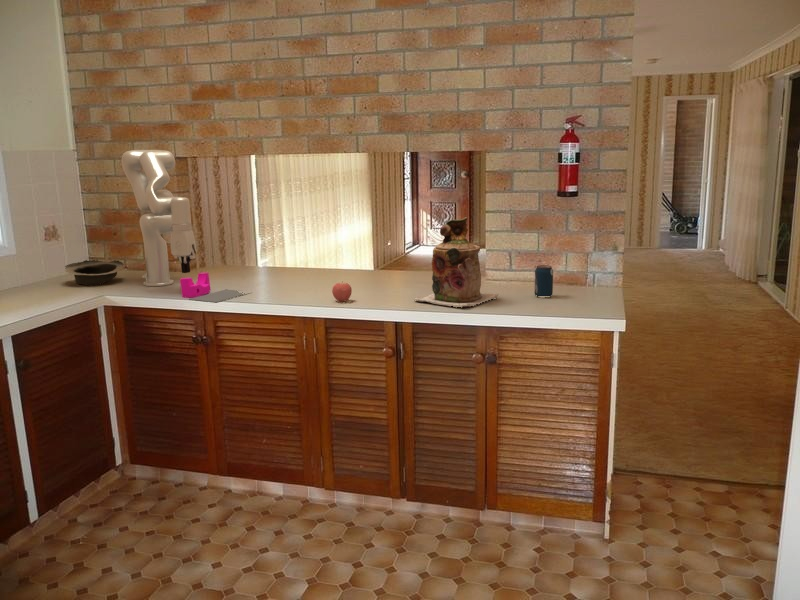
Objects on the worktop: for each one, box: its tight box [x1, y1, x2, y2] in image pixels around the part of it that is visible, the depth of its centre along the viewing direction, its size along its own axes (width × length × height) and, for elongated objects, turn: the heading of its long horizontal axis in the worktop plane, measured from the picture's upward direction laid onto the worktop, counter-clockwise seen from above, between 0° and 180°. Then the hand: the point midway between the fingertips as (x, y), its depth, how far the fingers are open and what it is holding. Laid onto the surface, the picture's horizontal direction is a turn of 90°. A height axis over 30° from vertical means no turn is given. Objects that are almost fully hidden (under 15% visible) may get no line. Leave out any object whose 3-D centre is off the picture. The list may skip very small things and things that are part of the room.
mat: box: [188, 288, 245, 303], centre depth 283 cm, size 14×22×1 cm, turn 153°
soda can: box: [534, 264, 554, 297], centre depth 272 cm, size 7×7×12 cm
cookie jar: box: [413, 217, 500, 309], centre depth 265 cm, size 25×25×32 cm
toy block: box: [179, 272, 212, 298], centre depth 287 cm, size 15×6×8 cm, turn 163°
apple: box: [331, 280, 352, 303], centre depth 269 cm, size 7×7×8 cm
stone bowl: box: [64, 259, 124, 286], centre depth 317 cm, size 25×25×9 cm
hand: (186, 272), depth 289 cm, fingers closed
